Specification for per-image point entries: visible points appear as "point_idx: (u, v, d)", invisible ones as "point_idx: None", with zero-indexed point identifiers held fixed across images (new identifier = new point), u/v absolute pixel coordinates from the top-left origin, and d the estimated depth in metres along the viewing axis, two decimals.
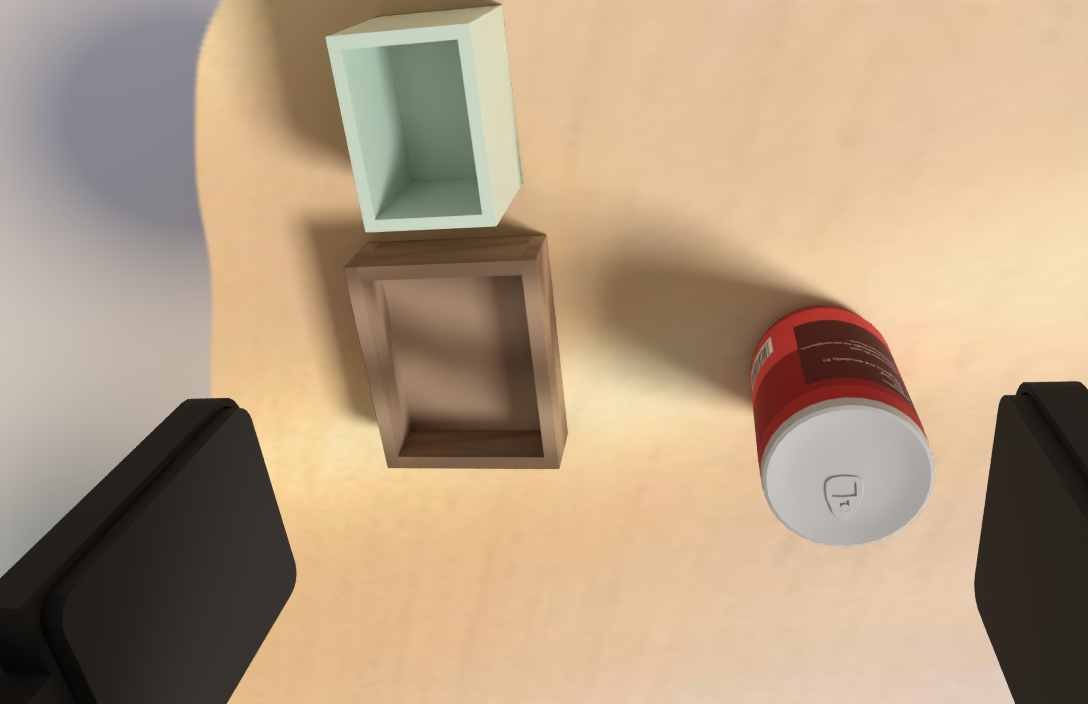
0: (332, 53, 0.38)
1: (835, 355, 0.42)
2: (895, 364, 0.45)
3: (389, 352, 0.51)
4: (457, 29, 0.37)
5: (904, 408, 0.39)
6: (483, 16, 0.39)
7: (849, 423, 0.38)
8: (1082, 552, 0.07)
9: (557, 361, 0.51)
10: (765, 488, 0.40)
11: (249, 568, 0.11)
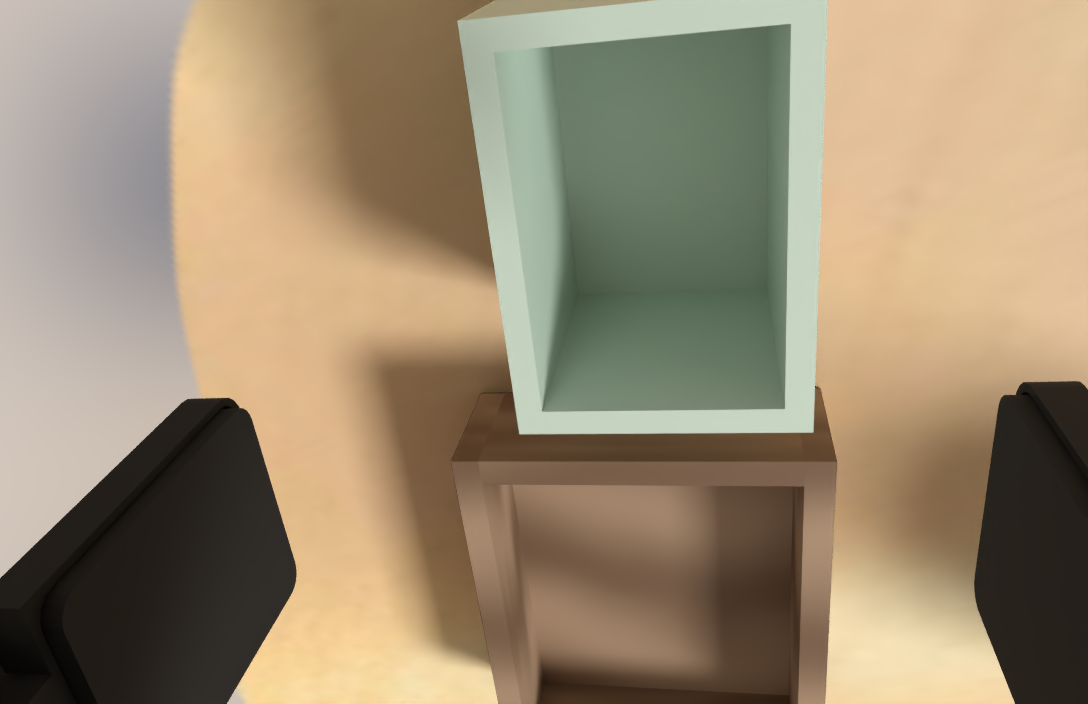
0: (472, 61, 0.16)
1: None
2: None
3: (518, 580, 0.29)
4: None
5: None
6: None
7: None
8: (1082, 552, 0.07)
9: None
10: None
11: (249, 568, 0.11)
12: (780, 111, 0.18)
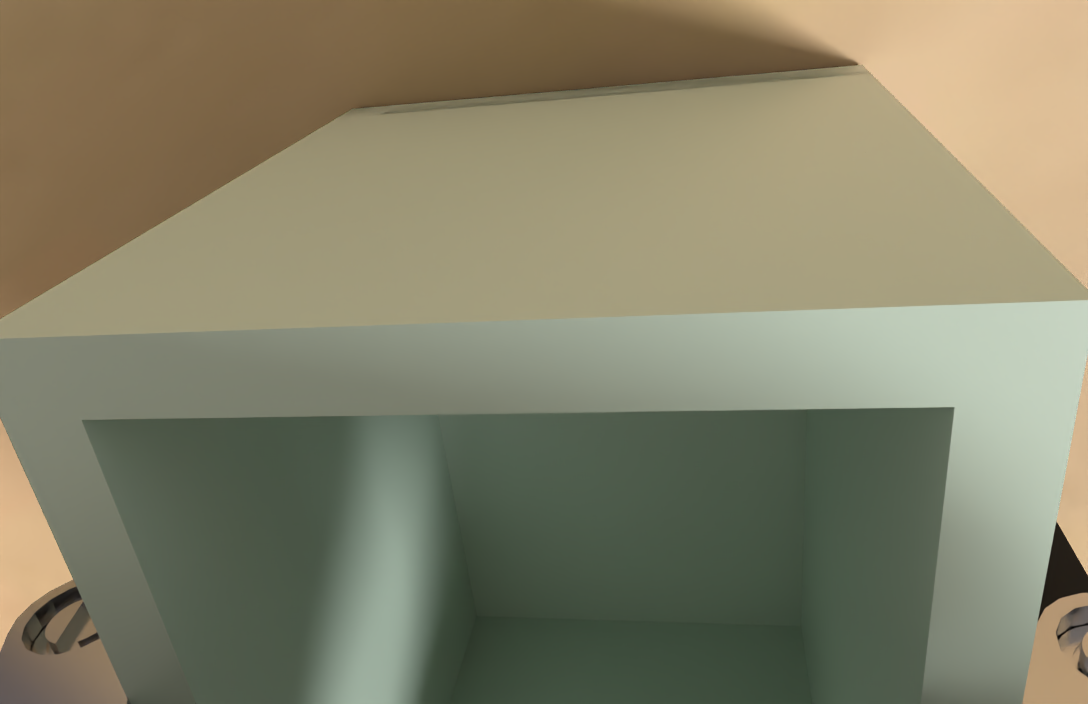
0: (30, 436, 0.06)
1: None
2: None
3: None
4: (972, 339, 0.04)
5: None
6: None
7: None
8: None
9: None
10: None
11: None
12: (865, 476, 0.07)
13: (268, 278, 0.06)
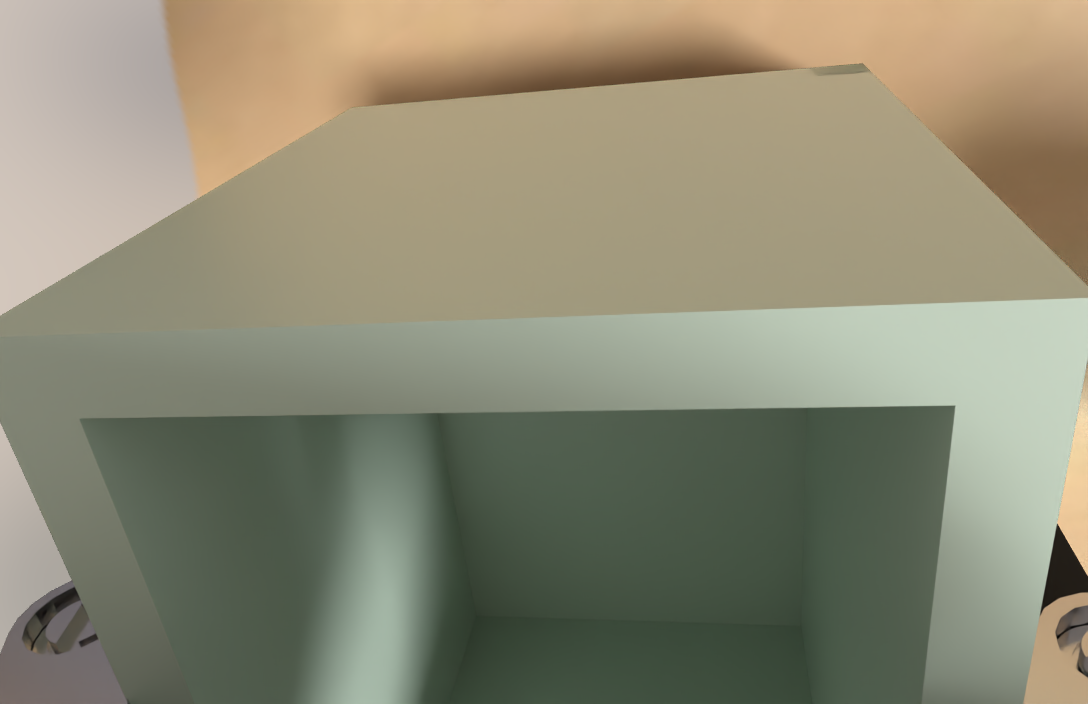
0: (28, 435, 0.06)
1: None
2: None
3: None
4: (974, 337, 0.04)
5: None
6: None
7: None
8: None
9: None
10: None
11: None
12: (866, 475, 0.07)
13: (267, 276, 0.06)
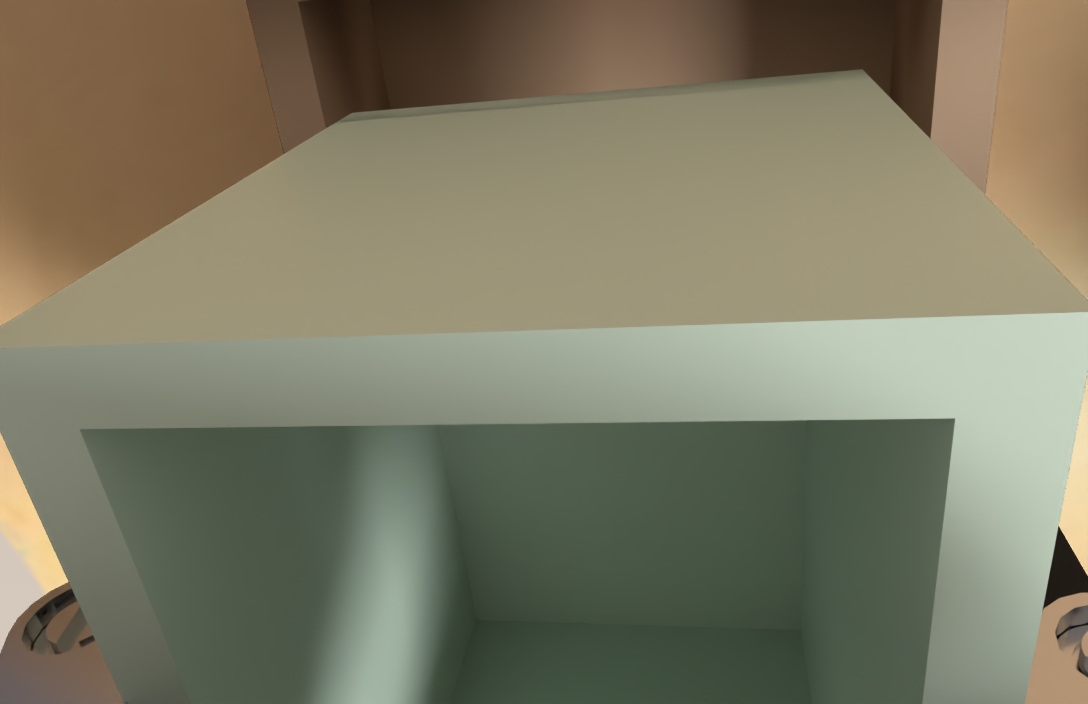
0: (28, 446, 0.06)
1: None
2: None
3: None
4: (973, 351, 0.04)
5: None
6: None
7: None
8: None
9: None
10: None
11: None
12: (866, 484, 0.07)
13: (267, 287, 0.06)
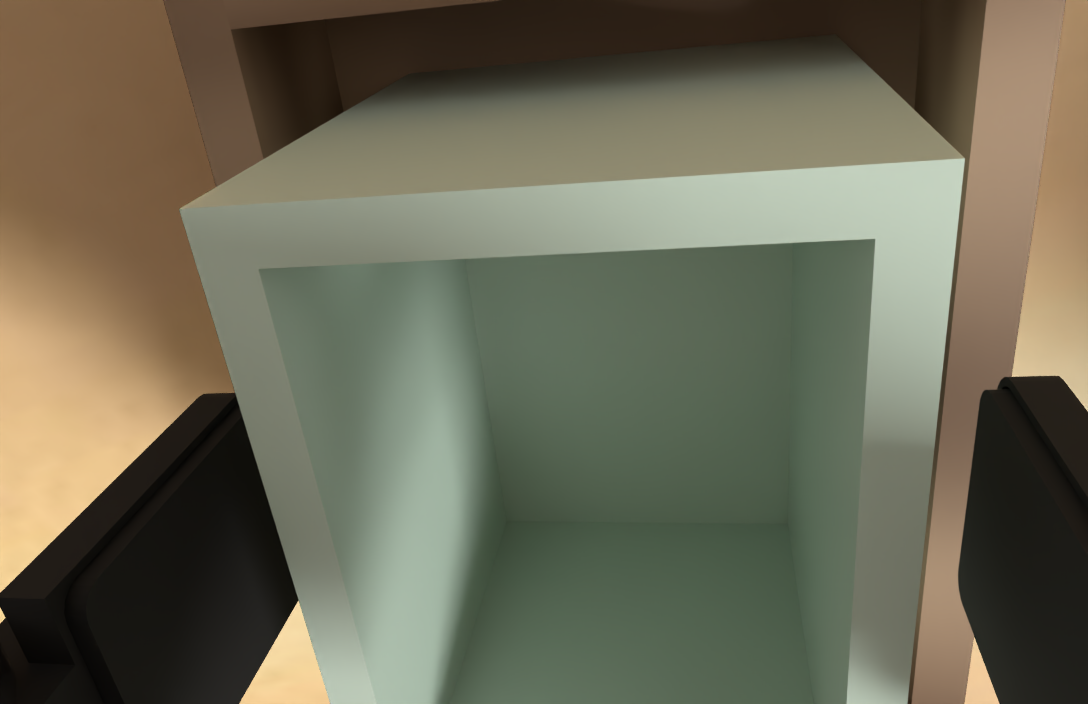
0: (219, 283, 0.08)
1: None
2: None
3: None
4: (885, 189, 0.07)
5: None
6: None
7: None
8: (1057, 542, 0.08)
9: None
10: None
11: (264, 562, 0.11)
12: (830, 342, 0.10)
13: (389, 171, 0.08)
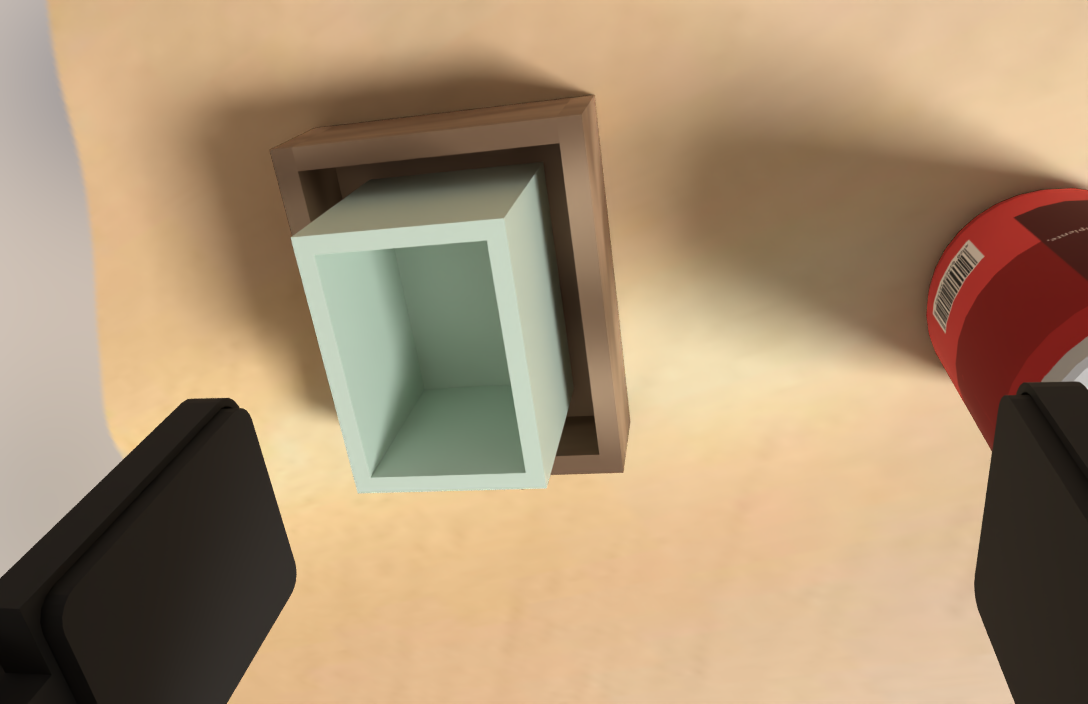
0: (302, 260, 0.26)
1: None
2: None
3: None
4: (486, 226, 0.25)
5: None
6: (521, 194, 0.27)
7: None
8: (1082, 552, 0.07)
9: (614, 304, 0.32)
10: None
11: (249, 568, 0.11)
12: None
13: (354, 224, 0.26)
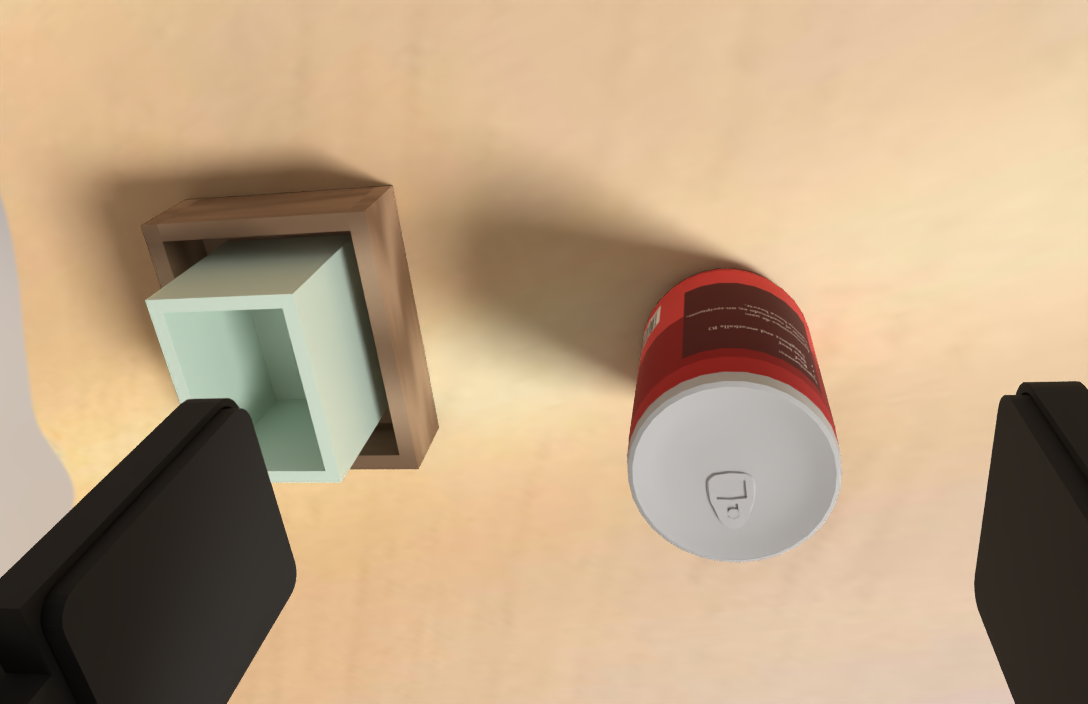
0: (154, 316, 0.36)
1: (724, 322, 0.33)
2: (807, 336, 0.36)
3: None
4: (281, 299, 0.34)
5: (801, 385, 0.30)
6: (319, 269, 0.37)
7: (731, 405, 0.30)
8: (1082, 552, 0.07)
9: (415, 340, 0.42)
10: (632, 489, 0.32)
11: (249, 568, 0.11)
12: None
13: (192, 290, 0.36)
